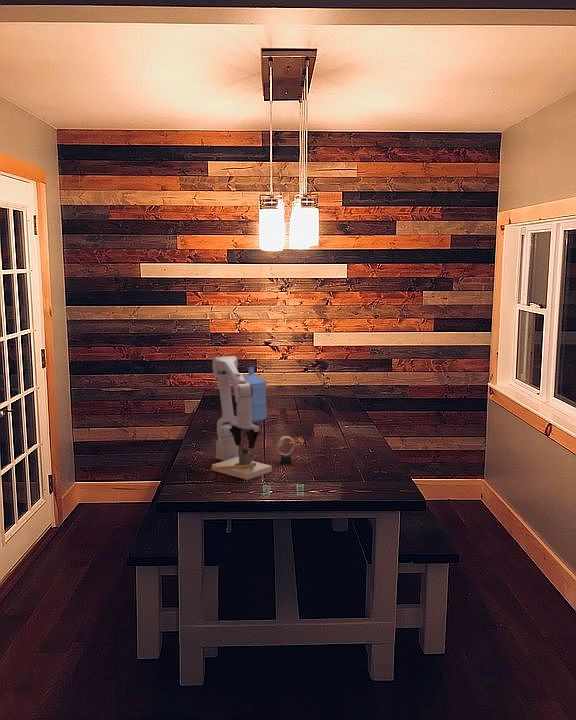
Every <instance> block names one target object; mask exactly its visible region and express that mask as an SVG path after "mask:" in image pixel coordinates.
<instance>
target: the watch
mask: <svg viewBox="0 0 576 720" xmlns="http://www.w3.org/2000/svg"><path fill="white" fill-rule="evenodd" d="M285 439H289V440H291V441H292V448H291V449H290V451H289V452H285V453H283V452H281V451H280V450H279V449H280V448H281V446H282V445H283V443H284V440H285ZM295 447H296V445H295V440H294V439H293V437H291V436H288V435H284V436H281V437H279V440H278V441H277V443H276V445H275V448H276V451H277V453H278V454H279V455H280V465H292V454H293V452H294V450H295Z"/></svg>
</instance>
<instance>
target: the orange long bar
mask: <svg viewBox="0 0 576 720" xmlns="http://www.w3.org/2000/svg"><path fill="white" fill-rule="evenodd" d="M240 468H249V469H250V470H253V469H254V463H249V465H236V466H221V467H212V466H211V471H213V470H224V469H240Z"/></svg>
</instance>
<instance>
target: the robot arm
mask: <svg viewBox="0 0 576 720" xmlns="http://www.w3.org/2000/svg"><path fill="white" fill-rule="evenodd" d="M238 361H239V360H238V357H236V356H235V355H230V356H214V357H213V359H212V363H211V364H212V374H213V377H215V378H217V382H218V390H219V396H220V397H219V398H220V405H221V414H222V416H221V417H220V418H219V419H218V420H217V422H216V434H217V435H216V436H217V441H216V442H215V443H216V444H215V447H216V448H215V449H216V450H215V451H216V455H215V457H214V459H217V460H220V461H226V460H229V459H232V458H235V457H238V458H239V446H240V445H241V443H242V435H243V430H248V431H246V432H245V434H246V436H247V441H248V450H250V449H254V448H255V444H256V440H257V438H258V436H259V434H260V426H258V425H256V424H254V422H251V397H252V396H253V387H252V384H251V383H249V382H246V380H245V378H244V377H245V376H244V375H243V373H241V372H239V370H238V365H239V362H238ZM231 385H232V388H233V389H234V390H233V393H234V397H235V398H234V401H235V403H236V415H235V414H234V407H233V397H232V390H231Z"/></svg>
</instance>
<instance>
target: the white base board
mask: <svg viewBox="0 0 576 720" xmlns="http://www.w3.org/2000/svg"><path fill="white" fill-rule="evenodd" d="M252 462H253V463H256V466H254V469H253V470H250V469H249V468H247V469H244V468H240V469H224V470H212V471H215V472H216V473H222V474H225V475H228V476H232V477H235V478H239V479H241V480H242V479H243V480H246V481H249V480H251V479H255V478H257V477H260V476H263V475H265V474H269V473H271V472H272V471H273V468H272V467H273V466H272V465H270V464H267V463H266V464H265V463H261V462H257V461H255V460H252ZM236 463H239V458H238V457H235V458H232V459H229V460H226V461H224V460H221V461H220V462H217V463H213V464H211V468H212V467H221V466H235V464H236Z"/></svg>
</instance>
